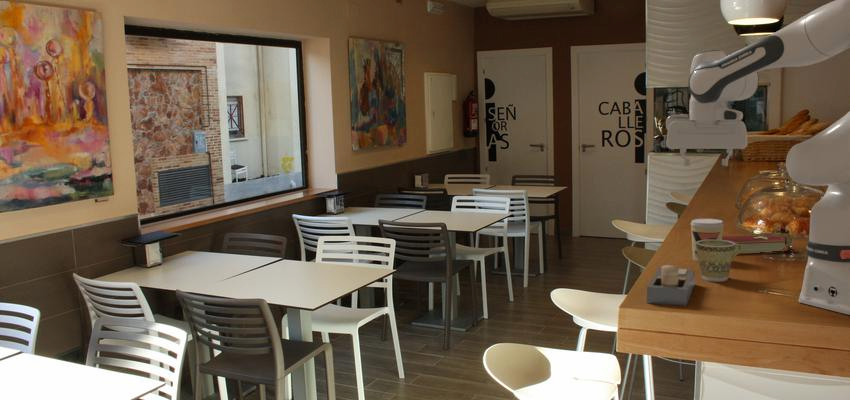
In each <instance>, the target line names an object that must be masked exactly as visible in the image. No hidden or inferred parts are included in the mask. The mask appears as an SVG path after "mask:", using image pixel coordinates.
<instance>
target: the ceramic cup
mask: <svg viewBox="0 0 850 400" xmlns="http://www.w3.org/2000/svg"><path fill="white" fill-rule="evenodd" d="M737 245H738V246H739V250H738V252H737V253H736V254H734V250H735V246H737ZM696 247H697V253H698V258H699V262H698V263H699V268H700V274H701V275H700V276H701V279H702V280H703V281H706V282H714V283H715V282H717V283H718V282H726V281H728V279H729V276H730V275H729V274H730V270H731V265H732V261H733V260H734V258H735V257H736V256H737V255H739V254H738V253H739V252H740V251H741V246H740V244H738V243H734V242H731V241H726V240H700V241H697V242H696Z"/></svg>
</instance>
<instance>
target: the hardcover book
mask: <svg viewBox="0 0 850 400" xmlns="http://www.w3.org/2000/svg"><path fill="white" fill-rule="evenodd" d="M754 235H755V234H753V235H752V234H751V235H749V234H747V235H746V234H745V235H726V236H725V235H724V236H723V235H722V240H726V241H731V242H734V243H738V244H740V246H741V251H740V252H739V253H738V254H737V255H739V254H759V253H760V252H765V253H773V252H772V251H780V250H782V249H783V248H784V247H785V239H786V238H783V237H781V238H777V237H764V236H754ZM738 250H739V246H738V245H737V246H735V250H734V254H736V253H737V252H738ZM734 254H733V255H734Z"/></svg>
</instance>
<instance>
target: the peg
mask: <svg viewBox="0 0 850 400" xmlns="http://www.w3.org/2000/svg"><path fill="white" fill-rule="evenodd" d="M661 268H662V271H661V286H670V287H678V269H679V266H677V265H671V264H669V265H666V264H665V265H662V266H661Z"/></svg>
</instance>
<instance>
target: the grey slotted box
mask: <svg viewBox="0 0 850 400" xmlns="http://www.w3.org/2000/svg"><path fill="white" fill-rule="evenodd" d="M661 271H662V267H659V268H658V269H657V270H656V272H655V273H654V275H653V276H652V278H651V279H650V281H649V282H648V285H646V303H647V304H655V305H656V304H657V305H669V306H670V305H671V306H683V307H687V305H688V303H689V301H690V298H691V295H692V293H693V290H694V286H695V284H696V283H695V277H696V270H695V269H686V268H678V287H670V286H661Z"/></svg>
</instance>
